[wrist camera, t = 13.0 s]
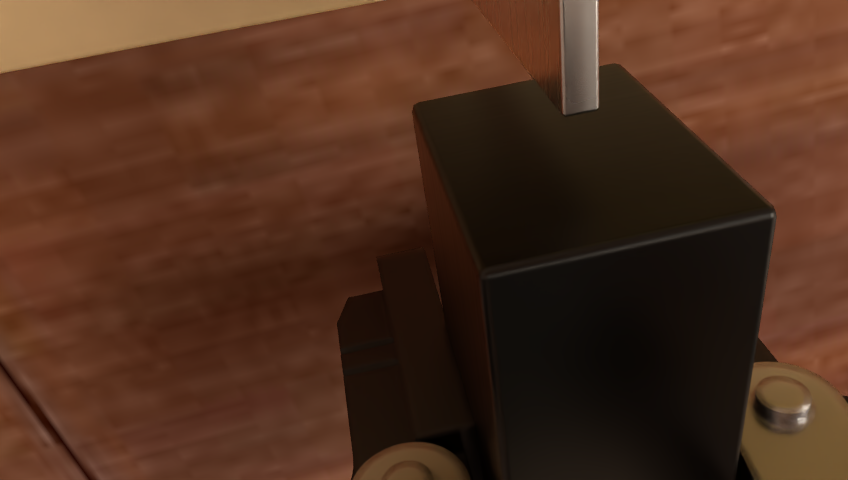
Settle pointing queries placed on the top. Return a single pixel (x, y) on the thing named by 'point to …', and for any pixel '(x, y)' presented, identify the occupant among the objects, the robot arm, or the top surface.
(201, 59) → the top surface
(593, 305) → the knife
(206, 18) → the board
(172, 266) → the top surface
